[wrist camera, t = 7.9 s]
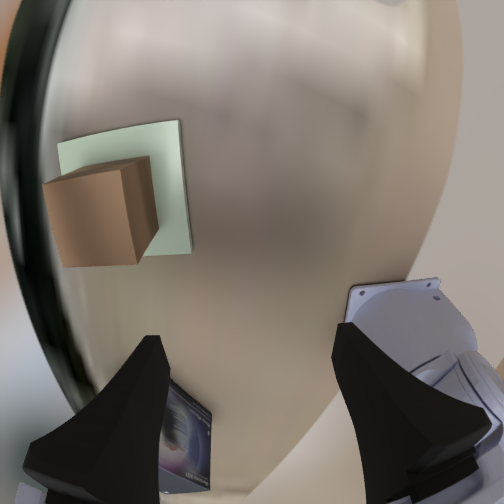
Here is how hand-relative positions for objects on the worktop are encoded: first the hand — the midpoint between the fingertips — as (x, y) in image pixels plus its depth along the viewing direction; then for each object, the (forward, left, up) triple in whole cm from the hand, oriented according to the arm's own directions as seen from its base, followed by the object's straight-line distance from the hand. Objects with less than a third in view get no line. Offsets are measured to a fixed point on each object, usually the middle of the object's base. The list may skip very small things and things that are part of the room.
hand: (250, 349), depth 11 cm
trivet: (+8, -4, -10) cm, 14 cm away
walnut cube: (+8, -4, -10) cm, 13 cm away
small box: (+10, +18, -11) cm, 23 cm away
